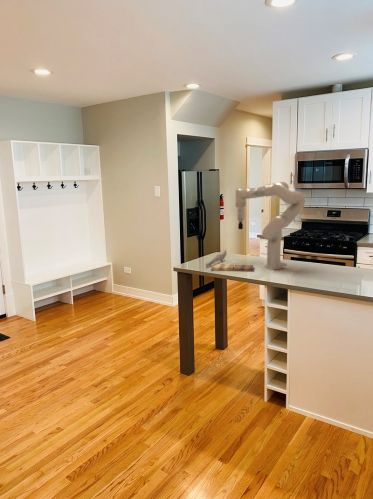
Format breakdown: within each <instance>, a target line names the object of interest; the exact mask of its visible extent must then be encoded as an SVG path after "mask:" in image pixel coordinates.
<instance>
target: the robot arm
mask: <svg viewBox="0 0 373 499" xmlns="http://www.w3.org/2000/svg"><path fill="white" fill-rule="evenodd" d="M289 188H290V187H289V184H288V183H287V182H285V181H277V182H274V183H268V184H265V185H263V186H259V187H248V188H236V189H235V208H236V212H237V214H236V215H237V216H236V217H237V221H238V228H237V229H238V230H242V229H244V228H243V227H244V224H243V221H244V220H245V208H246V207H247V205H246V204H247V203H246V202H247V199H257V198H263V197H266V198H267V197H272V196H276V197H277V198H279V199H280V200H282V201H283V202H284V203H286V204H288V205H289V206H288V207H286V210H284V211H283V212H282V213H280V214H279V215H276V216H274V217H273V218H272V219H271V220H270V221H269V222H268V223H267V224H266V225H265V227H264V228H263V229H262V237H263V238H264V239H265V240H266V241H267V246H266V252H267V254H266V264H265V265H264V268H265V269H267V270H280V269H283V267H287V264H288V263H287V262H281V250H282V248H281V247H282V246H281V243H282V238H283V229H285V228H287V227H288V226H289V225H290V224H291V223H292V222H293V220H295V219H296V218H297V216H298V215H299V214H301V212H302V211H303V209H304V207H305V203H306V198H305V195H304V194H303V193H302V192H301V191H298V190H293V191H292V190H291V189H289Z"/></svg>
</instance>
